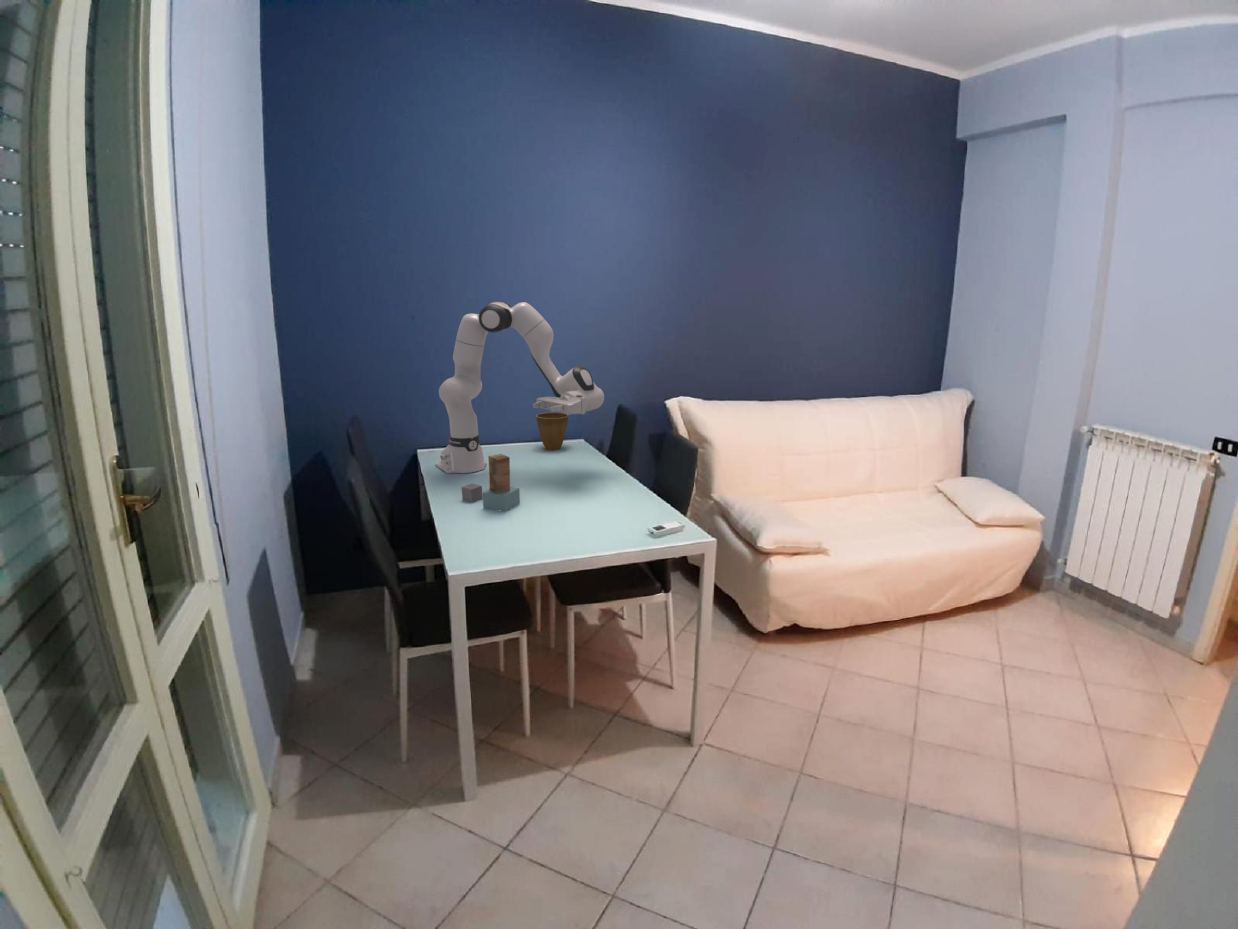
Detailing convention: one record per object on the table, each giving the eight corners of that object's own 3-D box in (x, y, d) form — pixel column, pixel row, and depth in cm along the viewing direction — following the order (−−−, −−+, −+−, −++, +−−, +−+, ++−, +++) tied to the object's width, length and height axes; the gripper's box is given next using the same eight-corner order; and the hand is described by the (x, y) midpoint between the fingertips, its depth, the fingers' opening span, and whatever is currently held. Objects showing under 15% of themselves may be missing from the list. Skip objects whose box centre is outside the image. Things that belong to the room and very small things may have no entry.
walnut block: (489, 489, 210) (488, 456, 206) (501, 486, 213) (500, 453, 210) (497, 493, 207) (497, 459, 203) (510, 490, 210) (509, 457, 206)
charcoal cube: (462, 500, 218) (461, 487, 216) (473, 496, 222) (472, 483, 220) (472, 503, 215) (471, 489, 213) (482, 499, 219) (481, 485, 217)
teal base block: (483, 508, 209) (482, 492, 208) (498, 500, 217) (497, 484, 216) (505, 512, 206) (504, 495, 204) (519, 504, 214) (519, 488, 212)
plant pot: (571, 451, 283) (571, 417, 279) (539, 453, 279) (538, 419, 275) (565, 443, 297) (564, 411, 292) (535, 445, 293) (533, 412, 288)
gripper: (552, 391, 242) (524, 395, 233) (587, 397, 229) (559, 402, 219) (553, 407, 244) (525, 412, 234) (588, 414, 230) (560, 419, 221)
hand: (542, 407), depth 227 cm, fingers open, 8 cm apart
